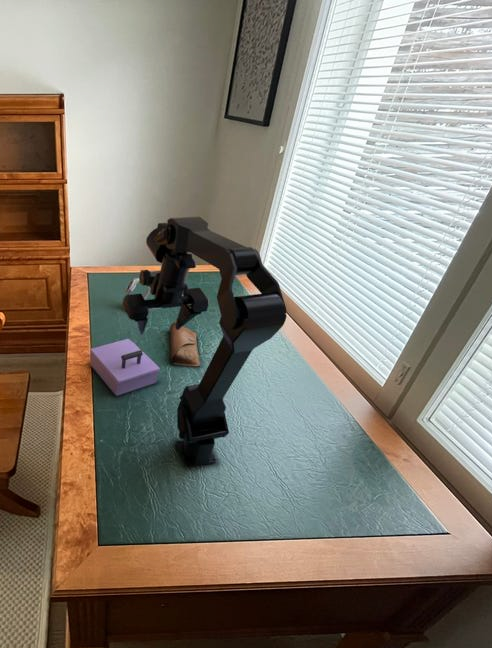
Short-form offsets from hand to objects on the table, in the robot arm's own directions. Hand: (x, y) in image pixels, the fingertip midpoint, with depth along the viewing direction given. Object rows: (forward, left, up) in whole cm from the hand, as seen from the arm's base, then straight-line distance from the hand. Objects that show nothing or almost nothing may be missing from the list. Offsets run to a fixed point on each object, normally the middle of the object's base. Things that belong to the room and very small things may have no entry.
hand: (159, 330), depth 91 cm
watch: (+38, -6, -15) cm, 41 cm away
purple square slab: (+4, +7, -11) cm, 13 cm away
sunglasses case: (+13, -14, -15) cm, 25 cm away
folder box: (+4, +7, -15) cm, 17 cm away
